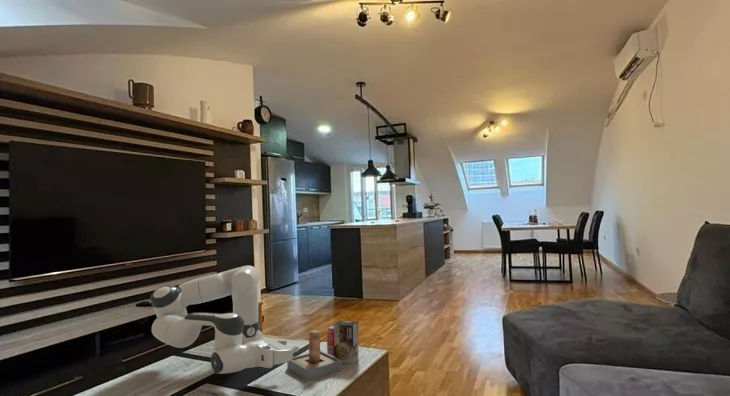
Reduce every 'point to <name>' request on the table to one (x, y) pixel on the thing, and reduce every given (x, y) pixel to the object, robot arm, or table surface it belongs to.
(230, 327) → the robot arm
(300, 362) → the peg box
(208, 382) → the table surface
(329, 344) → the soda can
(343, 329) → the coffee box
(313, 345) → the peg
